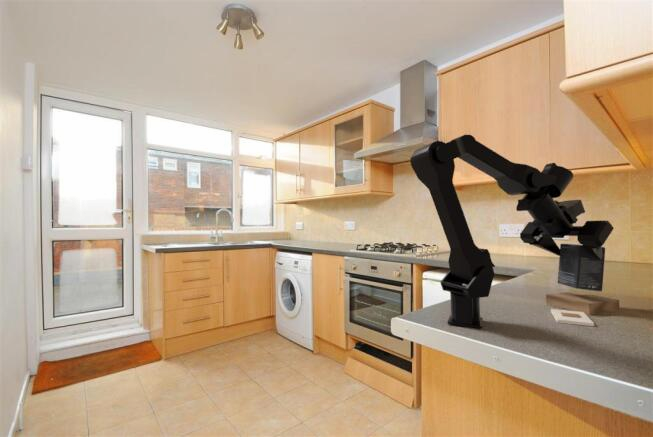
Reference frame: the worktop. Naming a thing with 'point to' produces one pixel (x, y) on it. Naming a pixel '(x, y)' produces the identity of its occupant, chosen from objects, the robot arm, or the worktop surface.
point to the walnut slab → (582, 302)
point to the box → (580, 268)
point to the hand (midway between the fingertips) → (579, 256)
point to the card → (571, 317)
